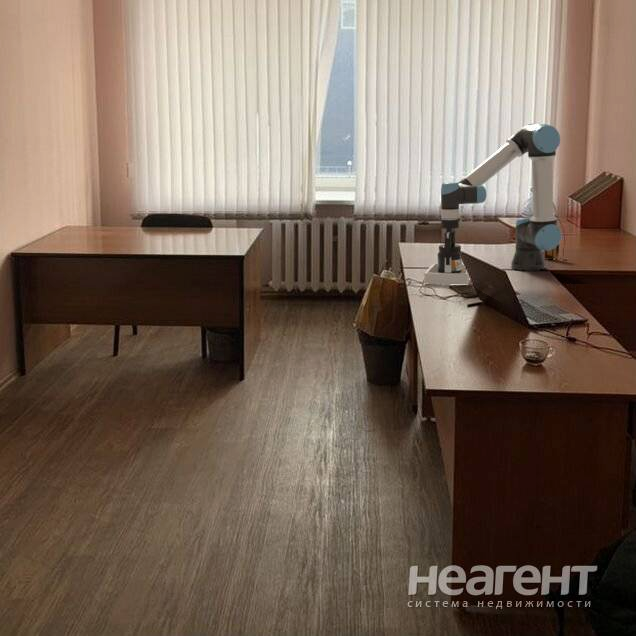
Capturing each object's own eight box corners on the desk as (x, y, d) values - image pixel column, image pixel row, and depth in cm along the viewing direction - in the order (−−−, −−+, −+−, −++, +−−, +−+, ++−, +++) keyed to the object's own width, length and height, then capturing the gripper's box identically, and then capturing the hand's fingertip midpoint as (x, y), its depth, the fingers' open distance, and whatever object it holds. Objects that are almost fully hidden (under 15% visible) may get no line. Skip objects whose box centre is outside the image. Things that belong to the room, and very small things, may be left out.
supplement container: (463, 275, 429) (463, 247, 426) (438, 275, 429) (438, 247, 427) (460, 270, 439) (460, 243, 437) (436, 271, 440) (436, 244, 437)
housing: (433, 274, 449) (433, 263, 448) (473, 275, 444) (474, 264, 443) (424, 284, 426) (424, 273, 425) (467, 285, 421) (467, 274, 420)
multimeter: (574, 259, 480) (575, 217, 475) (561, 261, 474) (562, 219, 469) (549, 256, 491) (550, 215, 487) (536, 258, 485) (537, 217, 481)
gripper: (445, 215, 441) (444, 265, 446) (437, 222, 419) (437, 274, 424) (462, 215, 439) (461, 265, 444) (455, 222, 417) (454, 275, 422)
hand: (449, 270), depth 434 cm, fingers closed on supplement container, 10 cm apart
